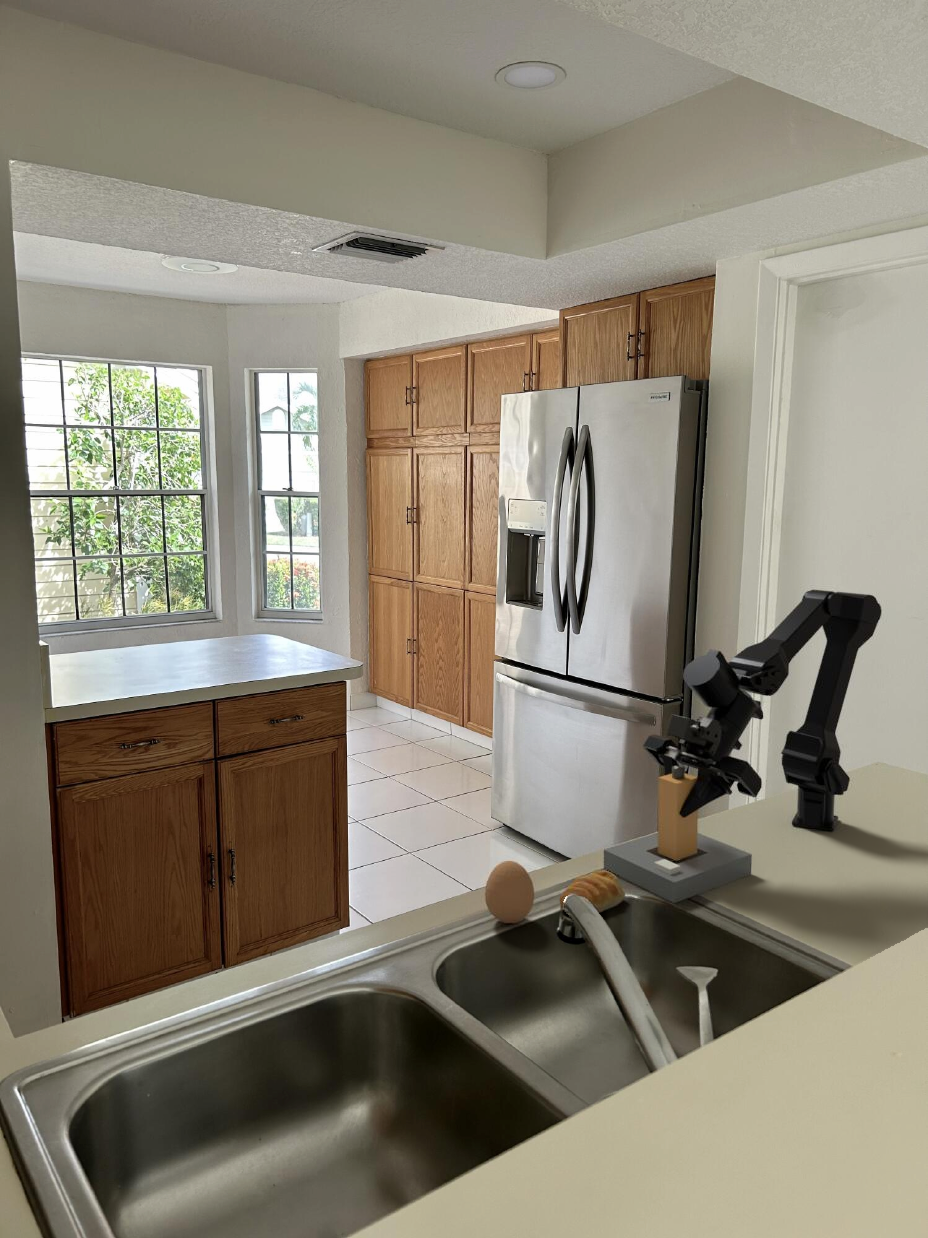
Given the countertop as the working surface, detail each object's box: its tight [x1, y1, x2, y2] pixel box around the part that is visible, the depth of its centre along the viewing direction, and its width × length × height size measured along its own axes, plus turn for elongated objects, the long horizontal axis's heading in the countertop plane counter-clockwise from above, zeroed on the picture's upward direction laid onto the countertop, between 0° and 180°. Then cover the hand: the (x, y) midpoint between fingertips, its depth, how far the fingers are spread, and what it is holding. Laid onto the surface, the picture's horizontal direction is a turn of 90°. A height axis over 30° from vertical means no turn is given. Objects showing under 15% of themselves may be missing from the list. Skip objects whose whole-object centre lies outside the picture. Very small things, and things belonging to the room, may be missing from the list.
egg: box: [484, 860, 535, 924], centre depth 119 cm, size 6×6×8 cm
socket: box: [603, 832, 753, 904], centre depth 133 cm, size 16×14×4 cm
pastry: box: [559, 869, 626, 913], centre depth 124 cm, size 9×7×4 cm
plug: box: [657, 766, 699, 861], centre depth 132 cm, size 4×4×13 cm
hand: (671, 812), depth 132 cm, fingers closed on plug, 4 cm apart
